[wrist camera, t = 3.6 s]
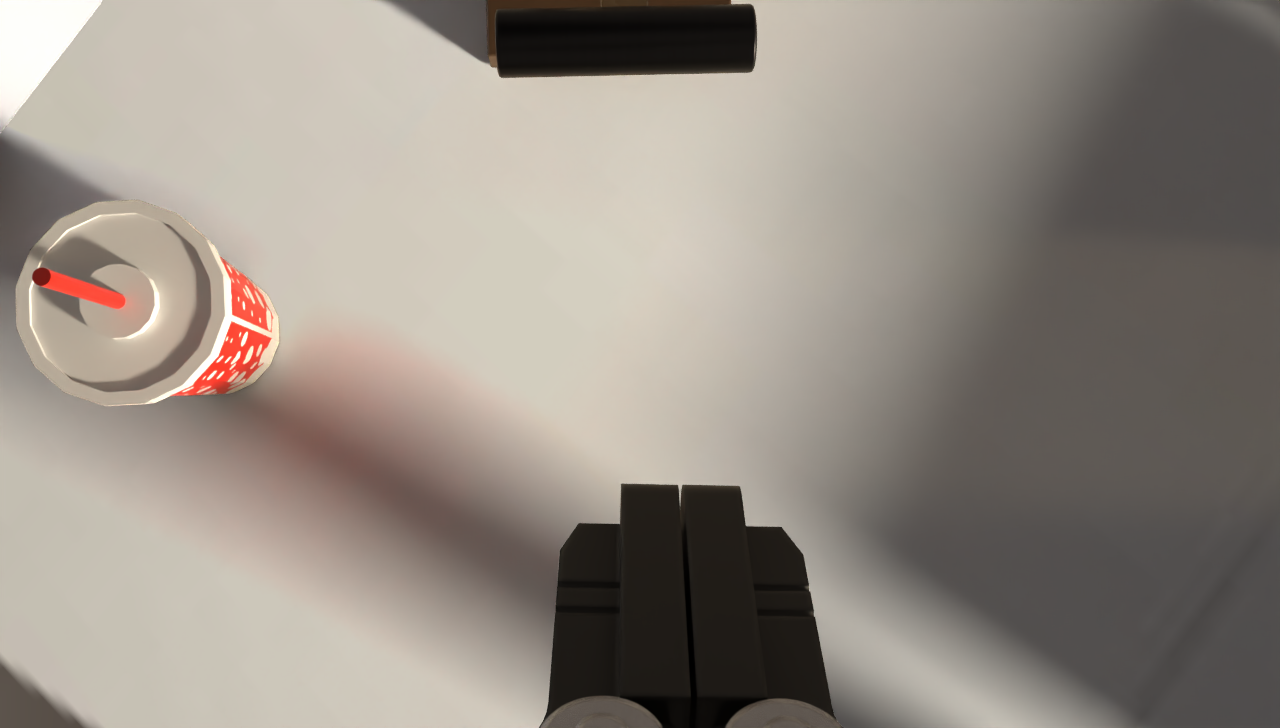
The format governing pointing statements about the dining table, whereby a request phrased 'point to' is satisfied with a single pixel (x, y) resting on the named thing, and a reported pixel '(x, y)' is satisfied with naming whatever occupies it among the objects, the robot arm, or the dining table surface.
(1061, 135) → the dining table surface
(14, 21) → the bottle
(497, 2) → the lever base
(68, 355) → the beverage cup
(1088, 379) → the dining table surface
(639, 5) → the wooden lever handle
